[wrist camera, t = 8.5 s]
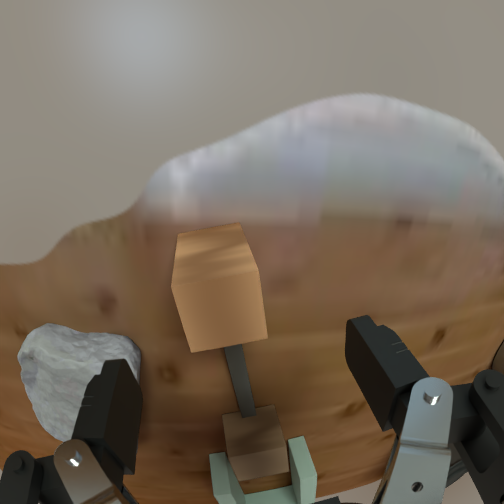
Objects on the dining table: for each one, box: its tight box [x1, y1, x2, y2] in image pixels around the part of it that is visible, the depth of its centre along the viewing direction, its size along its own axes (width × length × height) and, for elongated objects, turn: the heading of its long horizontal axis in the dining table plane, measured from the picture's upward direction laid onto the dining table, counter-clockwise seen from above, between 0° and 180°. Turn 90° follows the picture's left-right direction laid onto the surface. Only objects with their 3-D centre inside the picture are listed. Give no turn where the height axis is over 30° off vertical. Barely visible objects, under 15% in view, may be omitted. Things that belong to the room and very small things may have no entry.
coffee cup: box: [445, 443, 468, 488], centre depth 29 cm, size 8×8×10 cm
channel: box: [209, 436, 317, 504], centre depth 28 cm, size 10×15×5 cm, turn 8°
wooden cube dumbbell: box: [171, 223, 289, 481], centre depth 20 cm, size 4×21×6 cm, turn 8°
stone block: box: [18, 323, 141, 453], centre depth 20 cm, size 12×5×10 cm
